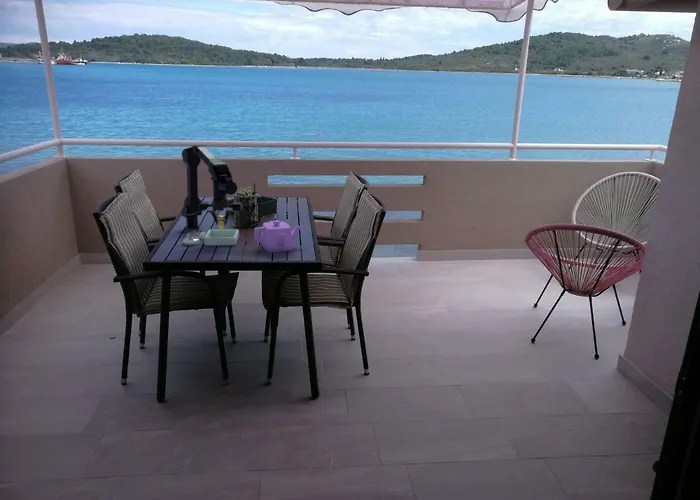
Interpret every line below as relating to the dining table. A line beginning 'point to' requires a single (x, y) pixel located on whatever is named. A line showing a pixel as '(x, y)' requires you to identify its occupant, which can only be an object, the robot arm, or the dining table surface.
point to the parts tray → (221, 237)
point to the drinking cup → (259, 199)
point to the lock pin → (221, 222)
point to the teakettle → (276, 236)
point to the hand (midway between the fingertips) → (221, 224)
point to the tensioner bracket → (193, 238)
